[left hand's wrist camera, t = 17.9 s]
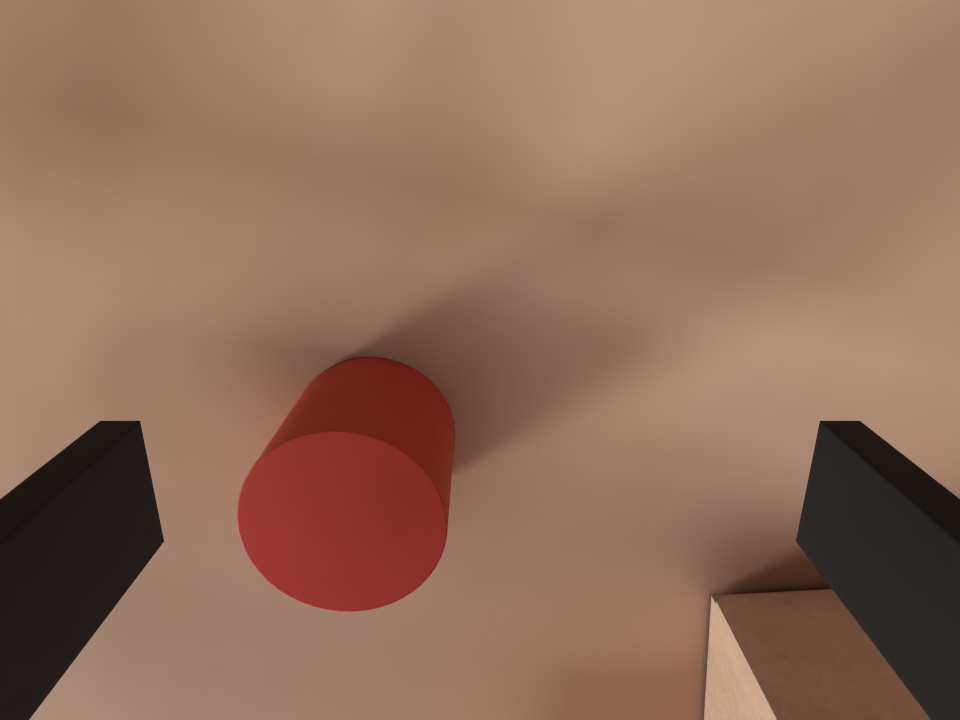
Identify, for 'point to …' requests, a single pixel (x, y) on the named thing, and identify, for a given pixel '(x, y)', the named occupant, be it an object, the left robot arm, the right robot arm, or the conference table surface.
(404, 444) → the canister
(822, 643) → the box
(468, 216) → the conference table surface
